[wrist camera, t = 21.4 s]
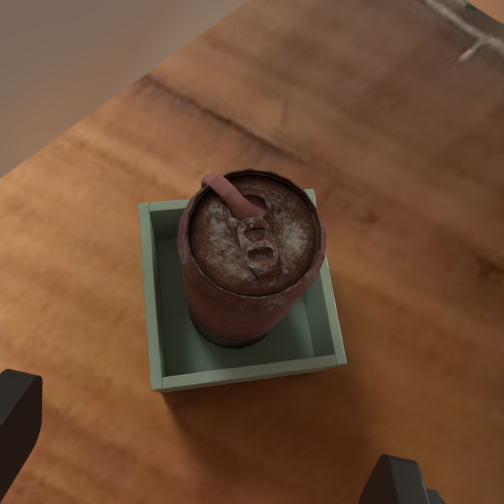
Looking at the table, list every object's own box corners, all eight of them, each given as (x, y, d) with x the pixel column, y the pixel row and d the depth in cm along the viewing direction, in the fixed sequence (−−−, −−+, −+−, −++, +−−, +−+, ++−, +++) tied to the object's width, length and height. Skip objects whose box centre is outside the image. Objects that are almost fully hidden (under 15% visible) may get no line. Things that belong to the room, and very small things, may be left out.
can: (228, 240, 33) (244, 128, 20) (296, 301, 32) (362, 227, 19) (165, 303, 31) (137, 226, 18) (236, 369, 30) (262, 341, 17)
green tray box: (160, 393, 30) (150, 390, 25) (148, 236, 33) (137, 203, 28) (322, 371, 31) (347, 364, 26) (296, 222, 35) (313, 188, 29)
